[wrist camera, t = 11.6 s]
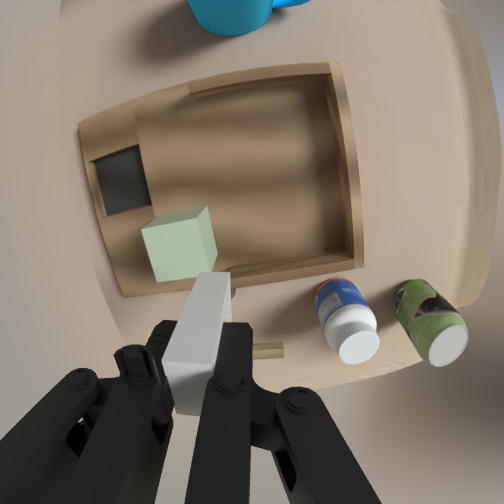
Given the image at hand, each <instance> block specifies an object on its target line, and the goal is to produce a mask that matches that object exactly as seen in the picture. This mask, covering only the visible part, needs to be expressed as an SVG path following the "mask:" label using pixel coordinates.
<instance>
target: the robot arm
mask: <svg viewBox="0 0 504 504" xmlns="http://www.w3.org/2000/svg"><path fill="white" fill-rule="evenodd" d="M231 320H232V314H231V287H230V272H200V273H199V275H198V277H197V279H196V282H195V284H194V286H193V288H192V291H191V293H190V295H189V297H188V300H187V302H186V304H185V306H184V309H183V311H182V313H181V315H180V318H179V320H178V321H172V320H163V321H161V322H160V323H159V324H158V325H156V326H155V328H154V330H153V332H152V334H151V336H150V337H149V339H148V342H147V343H146V345H145V346H143V345H128V346H124V347H122V348H121V349H119V350H117V351H116V353H115V354H114V358H115V360H116V363H117V366H118V368H119V371H120V376H119V377H115V378H100V379H98V377H97V375H96V373H95V372H94V371H93V370H91V369H88V368H78V369H75V370H73V371H71V372H70V373H69V374H67V375H66V376H65V377H64V378H63V379H62V380H61V381H60V382H59V383H58V384H57V385H56V386H55V387H53V389H51V390H50V391H49V392H48V393H47V394H46V395H45V396H44V397H43V398H42V399H41V400H40V401H39V402H38V403H37V404H36V405H35V406H34V407H33V408H32V409H31V410H30V411H29V412H28V413H27V414H26V415H25V416H24V417H23V418H22V419H21V420H20V421H19V422H18V423H17V424H16V425H15V426H14V427H13V428H12V429H11V430H10V431H9V432H8V433H7V434H6V435H5V436H4V437H3V438H2V439H1V440H0V504H154V503H155V499H156V495H157V490H158V486H159V481H160V477H161V473H162V469H163V465H164V461H165V457H166V453H167V449H168V445H169V441H170V437H171V433H172V429H173V418H172V411H173V408H174V406H175V410H176V413H177V414H183V415H192V416H200V421H199V426H198V431H197V436H196V442H195V447H194V453H193V458H192V463H191V469H190V475H189V480H188V486H187V491H186V498H185V503H184V504H249V496H250V461H251V446H255V447H258V448H262V449H265V450H269V451H271V453H272V456H273V459H274V461H275V464H276V467H277V470H278V473H279V475H280V478H281V481H282V483H283V486H284V489H285V491H286V494H287V497H288V499H289V502H290V504H382V503H381V502H380V500H379V498H378V496H377V495H376V493H375V491H374V490H373V488H372V486H371V484H370V483H369V481H368V480H367V478H366V476H365V474H364V473H363V471H362V469H361V467H360V466H359V464H358V462H357V460H356V459H355V457H354V455H353V454H352V452H351V450H350V449H349V447H348V445H347V444H346V441H345V440H344V438H343V436H342V435H341V433H340V431H339V429H338V428H337V426H336V424H335V422H334V421H333V419H332V417H331V415H330V414H329V412H328V410H327V408H326V407H325V405H324V403H323V401H322V399H321V398H320V397H319V395H317V393H316V392H314V391H313V390H311V389H309V388H304V387H290V388H288V389H285V390H283V391H282V392H281V393H274V392H270V391H267V390H264V389H263V388H261V387H259V386H258V385H257V384H256V383H255V381H254V380H253V377H252V368H253V330H252V328H251V327H250V325H249V324H248V323H237V322H231ZM81 418H83V421H81V422H78V421H79V420H80V419H81Z"/></svg>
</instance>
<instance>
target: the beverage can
mask: <svg viewBox="0 0 504 504" xmlns="http://www.w3.org/2000/svg"><path fill="white" fill-rule="evenodd" d="M393 311H394V313H395V315H396V317H397V319H398V320H399V322H400V323H401V325H402V327H403V328H404V330H405V331H406V333H407V335H408V336H409V338H410V340H411V341H412V343H413V345H414V347H415V348H416V350H417V352H418V353H419V355H420V357H421V358H422V359H423V360H424V361H425V362H427V363H430V364H432V365H434V366H438V367H439V366H445V365H448V364H450V363H451V362H453V361H454V360H456V359H457V358H458V357H459V356H460V355H461V353H462V352H463V350H464V349H465V347H466V345H467V342H468V332H467V325H466V322H465V319H464V318H463V317H462V315H461V314H460V313H459V312H458V311H457V310H456V309H455V308H454V307H453V306H452V305H451V304H450V303H449V302H448V301H447V300H446V299H445V298H444V297H443V296H441V295H440V294H439V293H438V292H437V291H436V290H435V289H434V288H433V287H432V286H431V285H430V284H429V283H428V282H426V281H424V280H421V279H415V280H411V281H409V282H407V283H405V284H404V285H403V286H402V287H401V288H400V289H399V290H398V292H397V293H396V295H395V298H394V301H393Z"/></svg>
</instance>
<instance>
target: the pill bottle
mask: <svg viewBox="0 0 504 504" xmlns="http://www.w3.org/2000/svg"><path fill="white" fill-rule="evenodd" d="M314 305H315V308H316V312H317V315H318V318H319V321H320V324H321V327H322V330H323V333H324V336H325V339H326V342H327V344H328V345H329V346H330V347H331V348H332V349H334V350H335V351H337V353H338V356H339V358H340V359H341V361H343V362H344V363H347V364H359V363H362V362H364V361H366V360H368V359H369V358H371V357H372V356H373V355H374V354H375V353H376V351H377V349H378V347H379V338H378V336H377V333H376V327H377V323H376V319H375V316H374V314H373V312H372V311H371V309H370V308H369V306H368V305H367V303H366V301H365V300H364V298H363V297H362V295H361V294H360V292H359V291H358V289H357V287H356V286H355V285H354V284H353V283H352V282H351V281H350V280H348V279H346V278H333V279H330V280H328V281H326V282H324V283H323V284H322V285H321V286H320V287H319V288H318V290H317V291H316V294H315V297H314Z"/></svg>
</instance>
